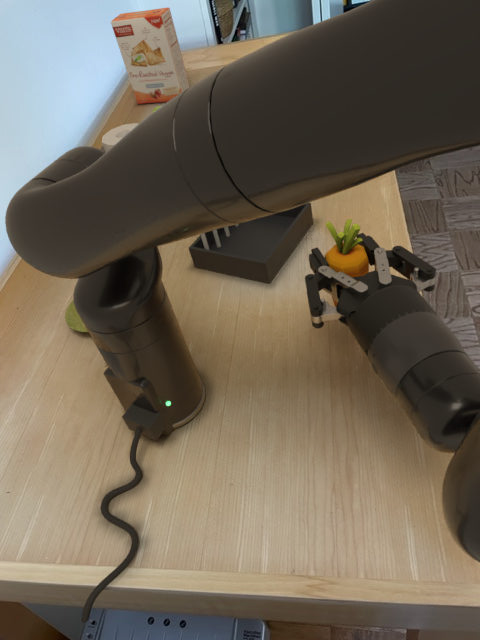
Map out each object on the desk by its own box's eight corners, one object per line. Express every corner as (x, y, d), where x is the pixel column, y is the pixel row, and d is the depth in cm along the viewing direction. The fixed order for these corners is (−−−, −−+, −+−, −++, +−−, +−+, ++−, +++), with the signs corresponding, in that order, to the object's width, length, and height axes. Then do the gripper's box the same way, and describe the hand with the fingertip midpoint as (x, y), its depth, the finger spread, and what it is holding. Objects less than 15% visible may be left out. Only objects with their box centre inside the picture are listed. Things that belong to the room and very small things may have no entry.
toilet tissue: (95, 178, 118) (79, 141, 112) (150, 155, 120) (138, 118, 114) (105, 194, 111) (89, 156, 105) (163, 170, 114) (151, 132, 108)
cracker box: (137, 105, 144) (108, 21, 129) (146, 95, 148) (119, 12, 133) (184, 102, 139) (160, 13, 125) (192, 92, 143) (169, 5, 129)
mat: (150, 316, 81) (146, 307, 79) (81, 352, 78) (76, 343, 77) (125, 280, 89) (121, 271, 87) (62, 311, 86) (56, 302, 85)
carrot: (323, 319, 68) (311, 221, 58) (356, 303, 69) (350, 204, 59) (344, 343, 64) (336, 242, 54) (379, 326, 65) (377, 224, 55)
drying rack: (269, 284, 81) (257, 227, 74) (194, 267, 87) (177, 214, 80) (313, 223, 89) (306, 167, 82) (242, 212, 96) (230, 160, 89)
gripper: (484, 291, 47) (394, 200, 60) (332, 342, 46) (273, 239, 59) (475, 348, 52) (394, 253, 65) (338, 395, 51) (282, 290, 64)
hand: (337, 247), depth 62 cm, fingers closed on carrot, 5 cm apart
